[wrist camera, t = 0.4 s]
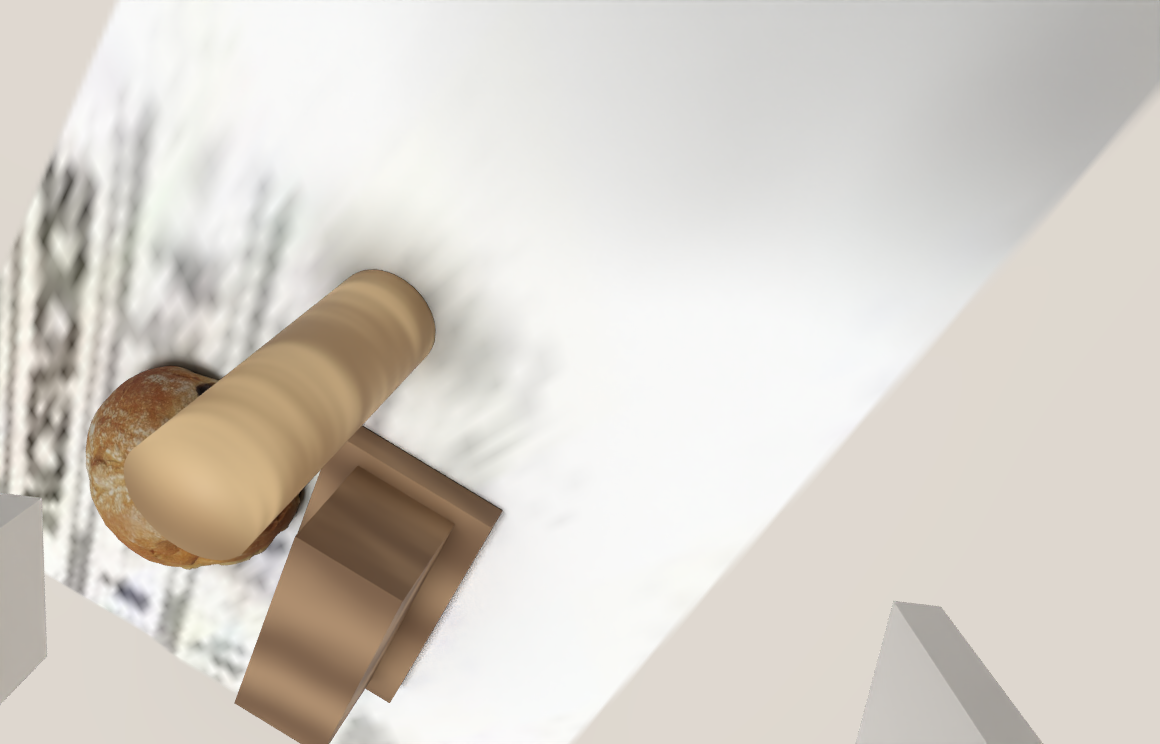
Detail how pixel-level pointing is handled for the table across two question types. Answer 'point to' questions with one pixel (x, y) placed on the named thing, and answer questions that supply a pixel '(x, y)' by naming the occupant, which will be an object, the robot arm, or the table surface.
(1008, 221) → the table surface
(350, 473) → the base
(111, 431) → the bread roll
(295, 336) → the post
